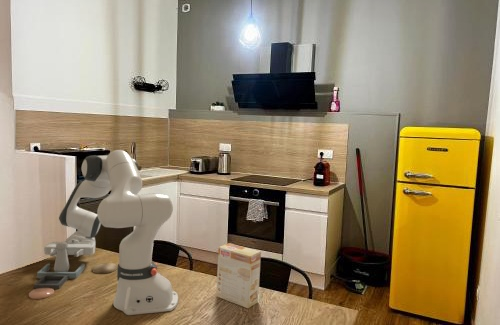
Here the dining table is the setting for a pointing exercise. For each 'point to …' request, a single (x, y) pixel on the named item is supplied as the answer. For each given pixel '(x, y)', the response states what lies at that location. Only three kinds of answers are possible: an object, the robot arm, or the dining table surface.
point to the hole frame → (51, 281)
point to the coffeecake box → (238, 274)
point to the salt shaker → (61, 258)
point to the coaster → (41, 293)
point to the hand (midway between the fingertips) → (63, 254)
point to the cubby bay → (70, 274)
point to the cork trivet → (104, 268)
